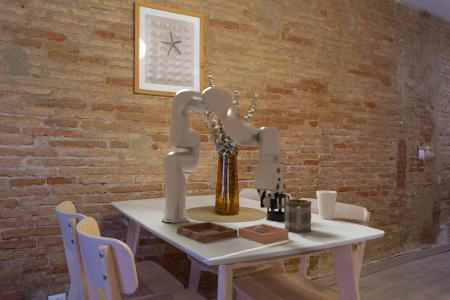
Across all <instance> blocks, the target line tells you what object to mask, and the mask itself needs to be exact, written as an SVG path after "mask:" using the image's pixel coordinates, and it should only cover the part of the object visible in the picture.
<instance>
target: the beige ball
mask: <svg viewBox="0 0 450 300" xmlns="http://www.w3.org/2000/svg"><path fill="white" fill-rule="evenodd" d="M270 199H272V197H269V196H268V197H267V196H266V197H265V198H264V200H263V205H264V206H265V208H266V209H267V208H269V209H270Z"/></svg>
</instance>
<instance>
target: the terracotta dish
mask: <svg viewBox="0 0 450 300" xmlns="http://www.w3.org/2000/svg"><path fill="white" fill-rule="evenodd" d="M259 225H260V226H263V227H264V228H265V231H266V232H265V234H261V233H257V232H254V228H255V227H256V226H259ZM238 237H241V238H243V239H247V240H251V241H255V242H256V243H257V242H258V243H261V244H264V245H265V244H267V243H268V244H269V243H272V242H277V241H279V240H284V239H289V232H288V230H287V229H285V228H282V227H278V226H275V225H270V224H267V223H259V224H254V225H253V224H252V225H248V226H242V227H238Z"/></svg>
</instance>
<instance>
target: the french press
mask: <svg viewBox="0 0 450 300" xmlns="http://www.w3.org/2000/svg"><path fill="white" fill-rule="evenodd" d="M286 186H287V184H286V183H283V188H284V190H286ZM274 194H275V192H274ZM268 196H269V197H272V196H271V192H269V193H268V192H267V194H266V197H268ZM289 199H291V196H290V195H287V194H286V193H282V194H281V195H280V196H279V198H278V203H277V209H276V210H275V209H274V210H271V209H270V208H266V220H267V221H270V222H276V223H277V222H285V200H289Z"/></svg>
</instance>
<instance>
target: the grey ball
mask: <svg viewBox="0 0 450 300" xmlns="http://www.w3.org/2000/svg"><path fill="white" fill-rule="evenodd" d="M254 232H257V233H261V234H265V232H266V231H265V228H264V227H263V226H260V225H259V226H256V227H255V228H254Z"/></svg>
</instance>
